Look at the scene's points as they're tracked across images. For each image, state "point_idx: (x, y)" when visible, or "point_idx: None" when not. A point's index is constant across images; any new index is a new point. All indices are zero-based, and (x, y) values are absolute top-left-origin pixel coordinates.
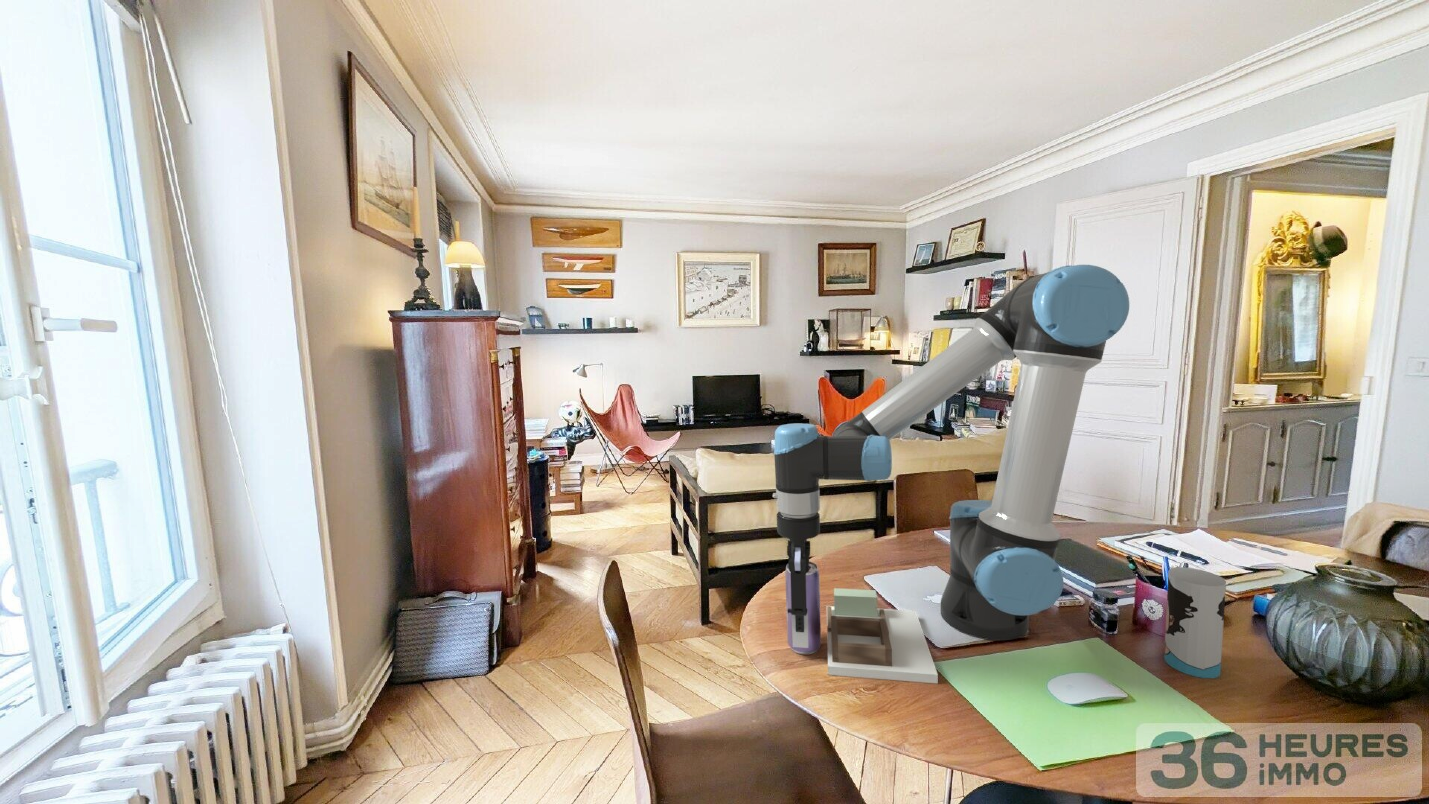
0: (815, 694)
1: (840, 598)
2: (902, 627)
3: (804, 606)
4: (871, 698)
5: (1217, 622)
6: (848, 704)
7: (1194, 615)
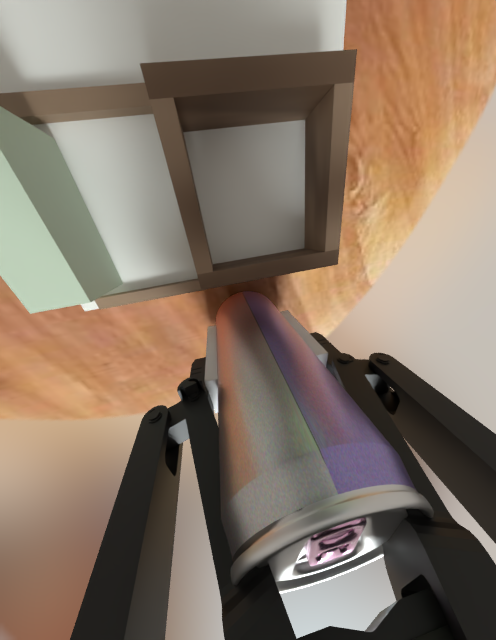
0: (364, 273)
1: (84, 278)
2: (69, 6)
3: (412, 376)
4: (379, 170)
5: None
6: (389, 216)
7: None
